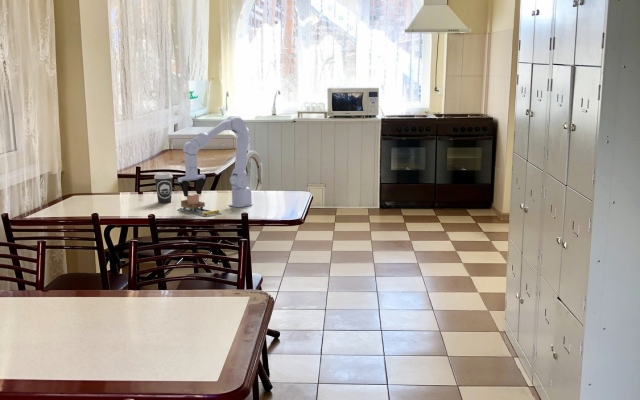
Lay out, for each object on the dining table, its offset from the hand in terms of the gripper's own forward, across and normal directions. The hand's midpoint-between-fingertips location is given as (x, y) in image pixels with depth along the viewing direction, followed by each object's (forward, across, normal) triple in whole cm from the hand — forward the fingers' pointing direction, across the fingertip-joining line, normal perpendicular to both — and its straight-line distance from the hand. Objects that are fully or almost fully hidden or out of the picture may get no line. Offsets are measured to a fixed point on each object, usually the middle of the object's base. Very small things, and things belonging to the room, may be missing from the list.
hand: (192, 195), depth 327 cm
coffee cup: (+8, -3, -29) cm, 30 cm away
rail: (+8, 0, +5) cm, 9 cm away
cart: (+8, 0, 0) cm, 8 cm away
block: (+5, 0, 0) cm, 5 cm away
